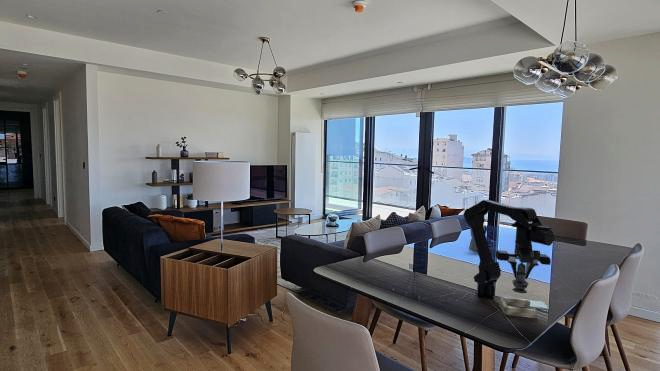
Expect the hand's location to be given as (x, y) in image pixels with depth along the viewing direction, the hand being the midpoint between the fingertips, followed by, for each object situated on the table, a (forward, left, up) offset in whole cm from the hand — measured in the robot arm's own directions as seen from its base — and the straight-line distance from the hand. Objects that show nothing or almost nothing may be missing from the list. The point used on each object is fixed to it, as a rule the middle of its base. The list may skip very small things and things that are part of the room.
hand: (520, 278), depth 148 cm
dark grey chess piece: (0, 0, -5) cm, 5 cm away
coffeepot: (-2, +101, -13) cm, 102 cm away
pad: (+9, +8, -13) cm, 17 cm away
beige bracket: (-1, -1, -13) cm, 13 cm away
